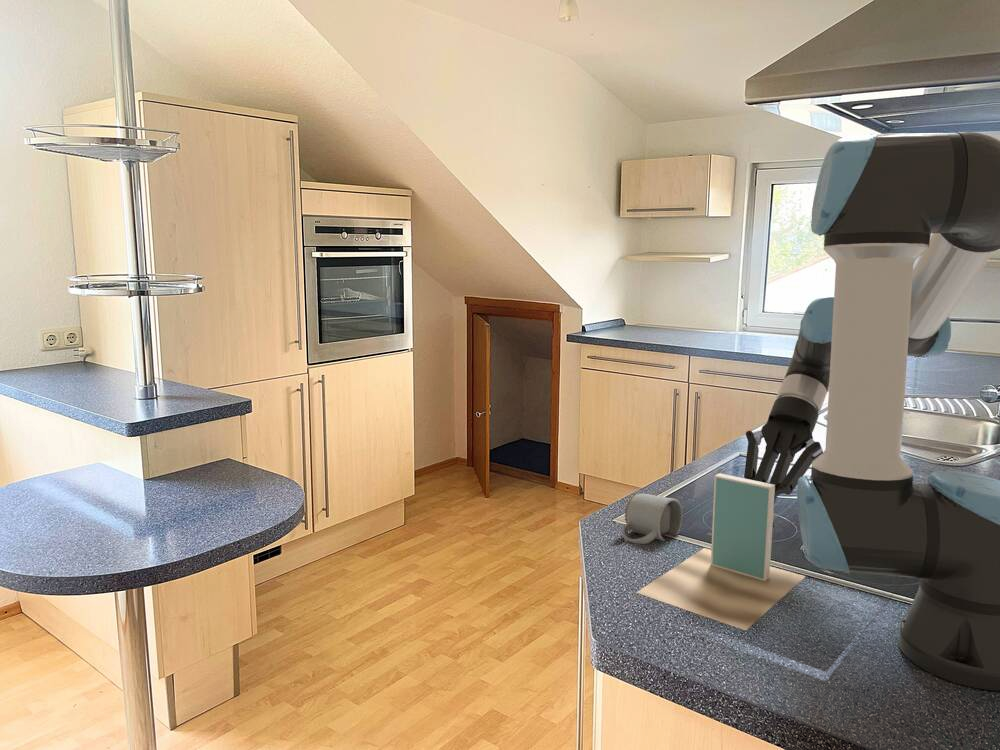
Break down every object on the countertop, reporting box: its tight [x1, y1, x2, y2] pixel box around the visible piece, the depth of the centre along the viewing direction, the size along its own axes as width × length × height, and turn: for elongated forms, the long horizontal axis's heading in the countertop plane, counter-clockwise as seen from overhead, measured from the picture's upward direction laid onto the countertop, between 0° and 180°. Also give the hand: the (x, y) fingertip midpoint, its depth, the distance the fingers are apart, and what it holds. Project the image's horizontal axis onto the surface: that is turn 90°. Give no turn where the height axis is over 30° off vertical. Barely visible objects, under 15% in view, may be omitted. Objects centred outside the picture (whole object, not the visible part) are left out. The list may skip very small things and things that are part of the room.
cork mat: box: [636, 547, 806, 631], centre depth 115 cm, size 22×17×1 cm
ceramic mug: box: [621, 493, 683, 545], centre depth 135 cm, size 11×8×8 cm
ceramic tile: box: [710, 472, 775, 581], centre depth 118 cm, size 2×9×15 cm, turn 48°
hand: (751, 525), depth 122 cm, fingers closed
